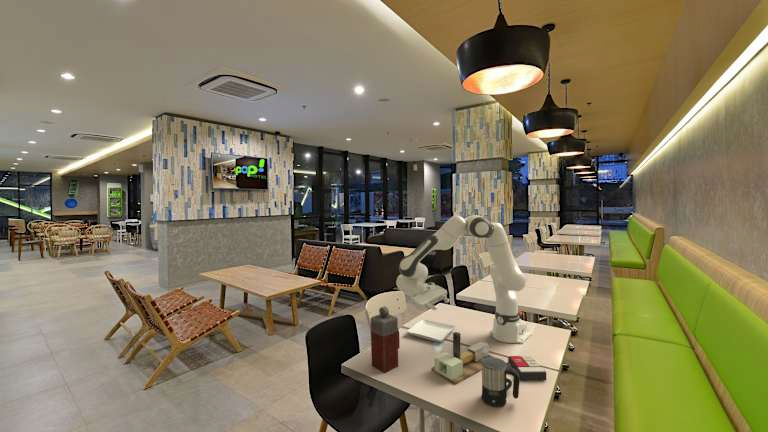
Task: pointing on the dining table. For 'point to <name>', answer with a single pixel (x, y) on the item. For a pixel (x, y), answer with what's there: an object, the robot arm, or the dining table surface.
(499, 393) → the milk frother
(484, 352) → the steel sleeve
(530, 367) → the calculator
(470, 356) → the dark tall piece
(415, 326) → the salad plate
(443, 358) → the socket block
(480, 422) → the dining table surface
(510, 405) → the dining table surface
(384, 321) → the red lidded canister
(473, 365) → the walnut board
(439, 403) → the dining table surface
